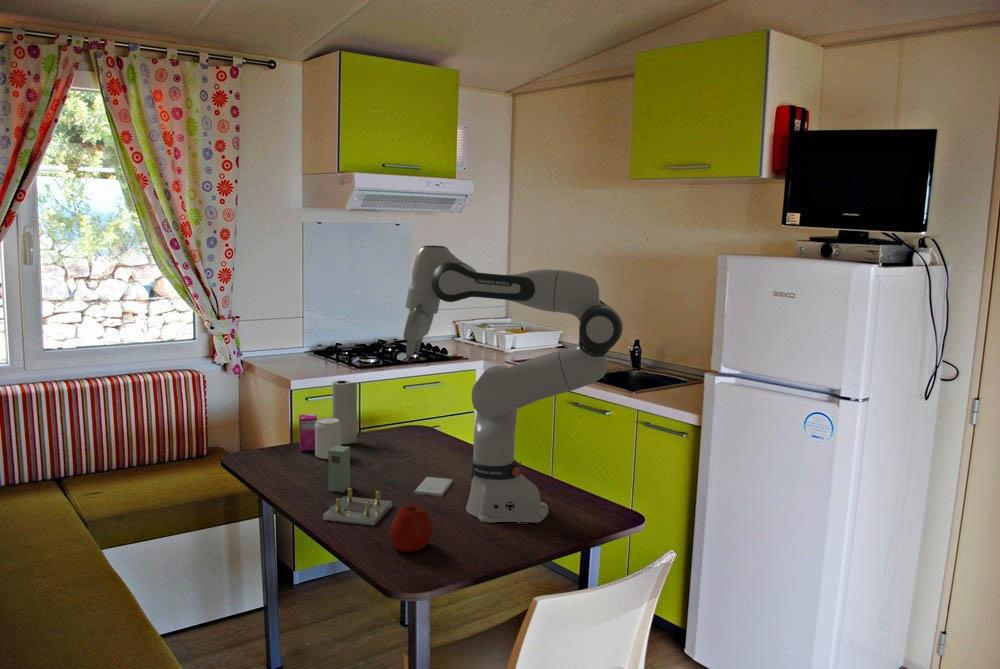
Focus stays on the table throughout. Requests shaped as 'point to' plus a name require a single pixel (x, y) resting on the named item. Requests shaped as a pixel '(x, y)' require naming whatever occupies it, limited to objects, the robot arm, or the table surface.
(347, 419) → the paper towel roll
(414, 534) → the apple
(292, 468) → the table surface
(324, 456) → the beverage can
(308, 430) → the supplement box
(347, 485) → the block
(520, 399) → the robot arm
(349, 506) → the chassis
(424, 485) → the external hard drive
